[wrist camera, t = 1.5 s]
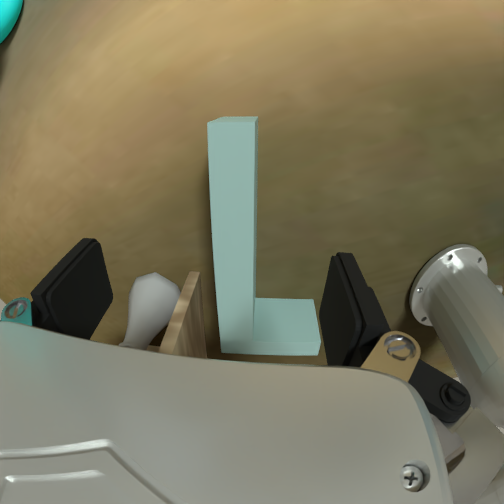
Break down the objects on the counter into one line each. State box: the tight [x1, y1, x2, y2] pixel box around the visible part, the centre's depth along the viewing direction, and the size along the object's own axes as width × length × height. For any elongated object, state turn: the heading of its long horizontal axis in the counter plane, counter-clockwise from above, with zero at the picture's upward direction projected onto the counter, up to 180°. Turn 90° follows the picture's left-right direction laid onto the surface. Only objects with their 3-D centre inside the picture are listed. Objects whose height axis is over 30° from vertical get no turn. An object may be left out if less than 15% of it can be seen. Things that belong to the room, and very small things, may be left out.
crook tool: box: [208, 117, 321, 355], centre depth 27 cm, size 10×22×7 cm, turn 0°
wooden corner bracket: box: [146, 271, 207, 358], centre depth 30 cm, size 11×15×14 cm
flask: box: [119, 272, 181, 350], centre depth 31 cm, size 7×7×10 cm
